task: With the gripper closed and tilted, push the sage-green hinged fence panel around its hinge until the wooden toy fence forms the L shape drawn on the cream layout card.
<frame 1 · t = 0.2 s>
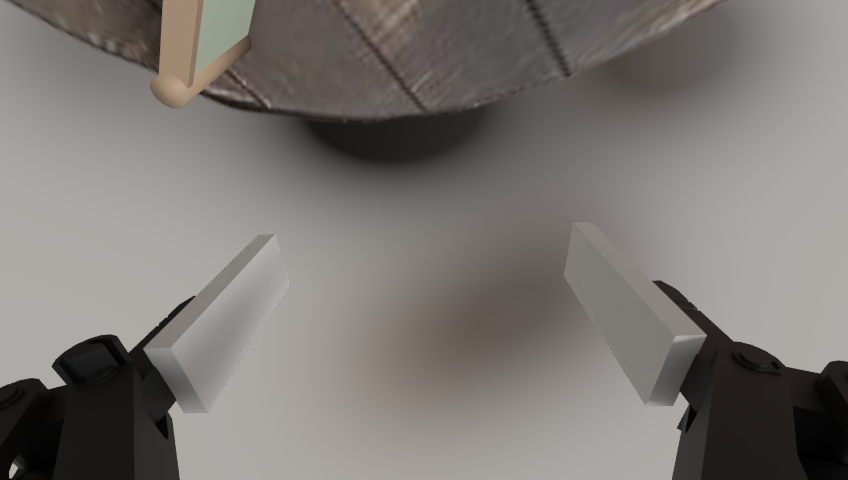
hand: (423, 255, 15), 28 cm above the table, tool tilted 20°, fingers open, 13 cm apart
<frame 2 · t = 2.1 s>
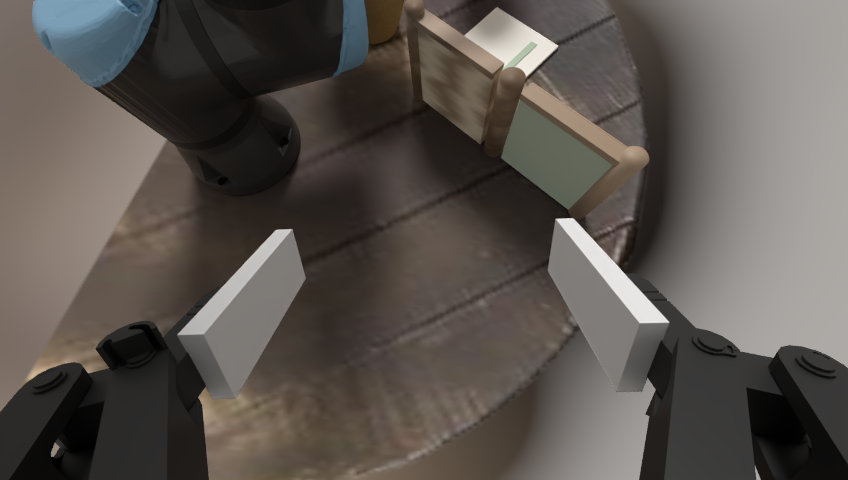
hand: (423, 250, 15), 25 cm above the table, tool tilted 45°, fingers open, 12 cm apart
fence fixed: (492, 149, 45), on the table
layout card: (496, 55, 50), on the table
plant pot: (375, 27, 53), on the table
fence gate: (560, 158, 36), point 7 cm above the table, hinge at 0.0°
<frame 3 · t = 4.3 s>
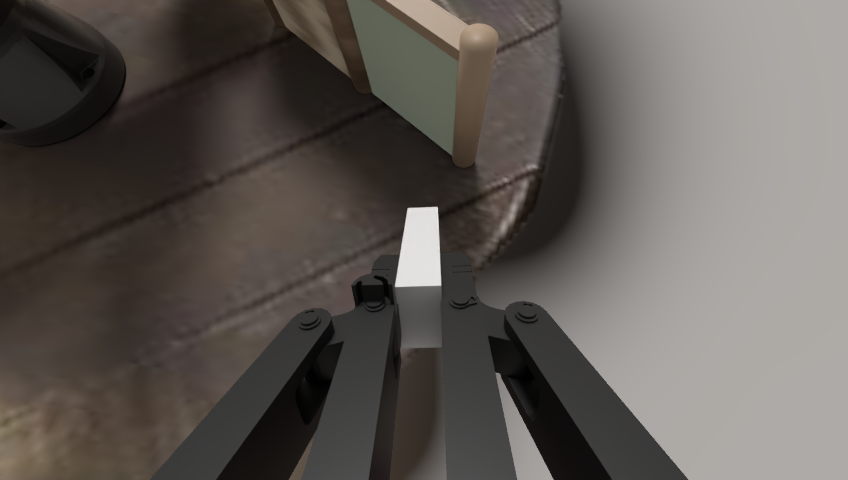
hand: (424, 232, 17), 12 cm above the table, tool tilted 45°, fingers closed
fence fixed: (365, 83, 35), on the table
fence gate: (417, 74, 26), point 7 cm above the table, hinge at 0.0°
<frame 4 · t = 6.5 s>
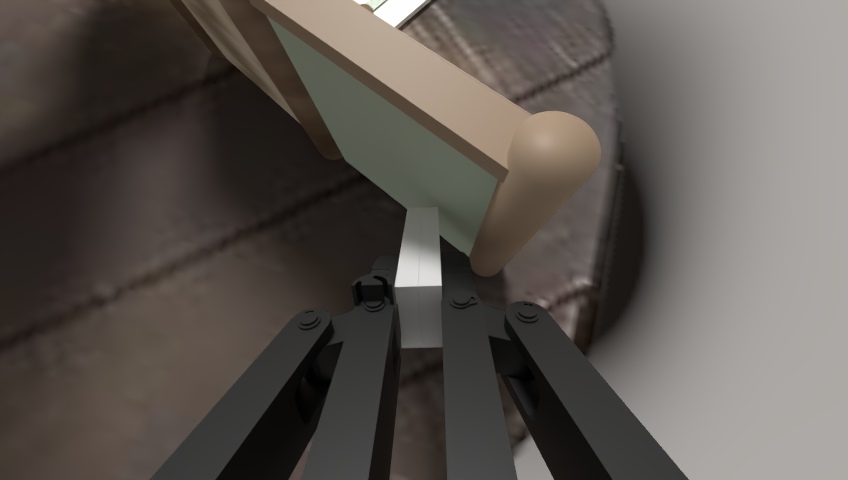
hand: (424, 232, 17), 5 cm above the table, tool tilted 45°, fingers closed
fence fixed: (335, 144, 24), on the table
fence gate: (413, 159, 16), point 7 cm above the table, hinge at 3.0°, touching gripper
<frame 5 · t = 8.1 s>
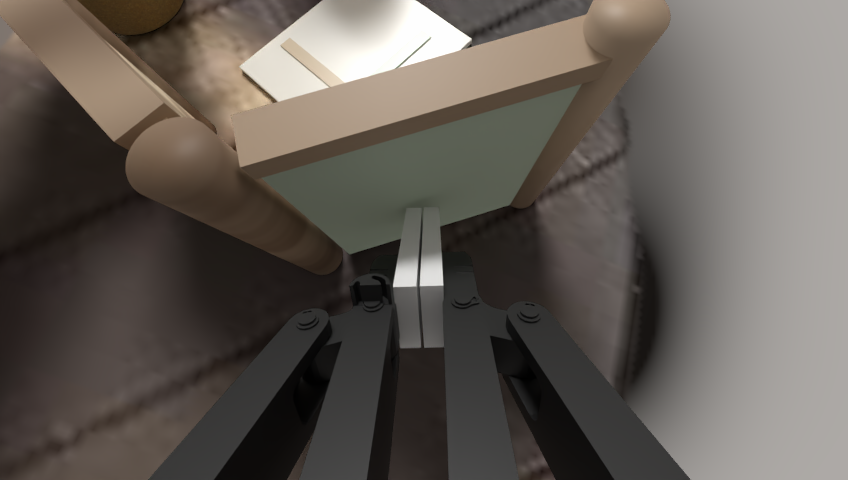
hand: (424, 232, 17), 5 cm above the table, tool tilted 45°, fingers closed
fence fixed: (323, 255, 22), on the table
layout card: (356, 57, 26), on the table
plant pot: (145, 3, 29), on the table
fence gate: (445, 171, 15), point 7 cm above the table, hinge at 60.5°, touching gripper
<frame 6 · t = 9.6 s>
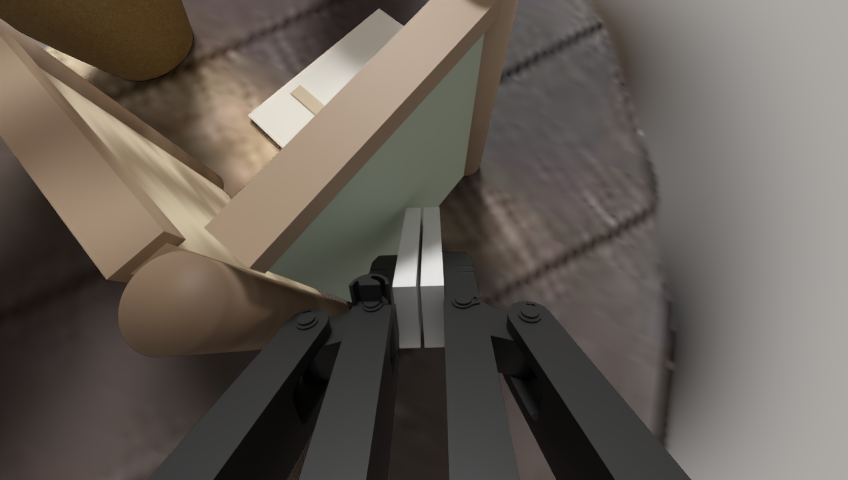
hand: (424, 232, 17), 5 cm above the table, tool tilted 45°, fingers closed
fence fixed: (333, 322, 21), on the table
layout card: (368, 104, 25), on the table
plant pot: (154, 46, 28), on the table
fence gate: (405, 173, 15), point 7 cm above the table, hinge at 95.4°, touching gripper
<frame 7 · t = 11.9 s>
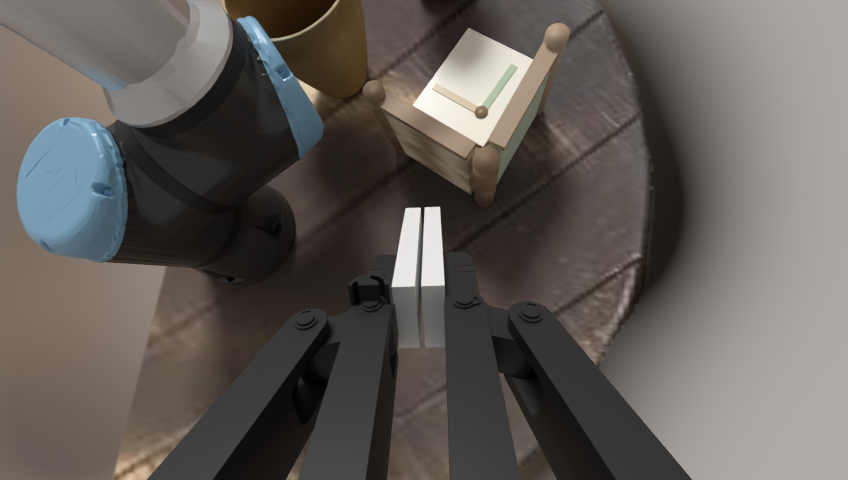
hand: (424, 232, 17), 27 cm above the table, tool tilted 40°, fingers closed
fence fixed: (484, 198, 43), on the table
layout card: (475, 86, 46), on the table
plant pot: (344, 76, 50), on the table
fence gate: (521, 117, 37), point 7 cm above the table, hinge at 95.4°
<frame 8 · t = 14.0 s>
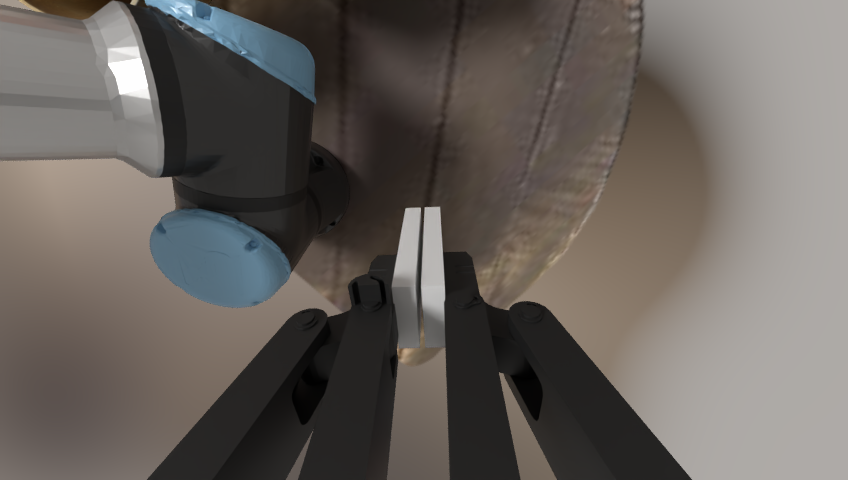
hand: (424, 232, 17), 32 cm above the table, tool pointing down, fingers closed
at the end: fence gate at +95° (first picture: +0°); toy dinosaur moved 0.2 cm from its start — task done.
